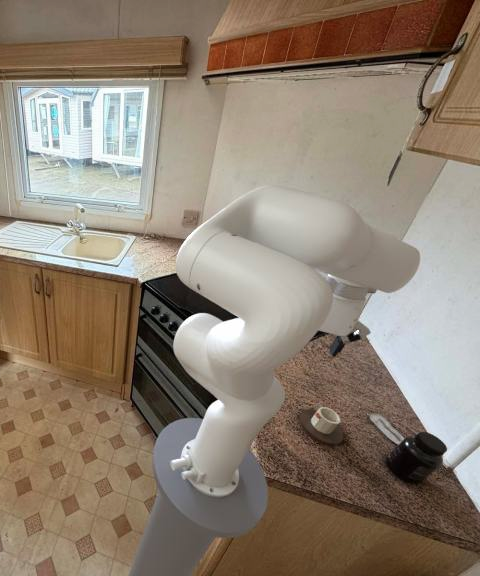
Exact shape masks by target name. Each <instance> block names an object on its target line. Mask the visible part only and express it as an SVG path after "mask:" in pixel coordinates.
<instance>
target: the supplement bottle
mask: <svg viewBox="0 0 480 576" xmlns="http://www.w3.org/2000/svg"><path fill="white" fill-rule="evenodd" d="M404 438H405V439H403V440H402V441H401V442H400V443H399V444H397V445H396V446H395V447H394V448H393V449H392V450H391V451H390V452H389V453H388V454H387V455H386V456H385V459H384V461H385V466H386V467H387V469H388V470H389V472H390V473H391V474H392V475H394V476H395V477H396V478H397V479H399V480H401V481H402V482H404V483H406V484H410V485H419V484H420V483H421V484H422V482H423V481H424V480H426V479H427V478H428V477H429V476H431V474H432V473H434V472H435V471H436V470H437V469H439V468H440V467H441V466H442V465H443V463H444V458H443V456H444V454H445V453H447V451H448V447H447V445H446V444H445V442H444V441H443V440H442V439H440V437H438V436H436V435H434V434H432V433H430V432H426V431H420V432H418V433H417V434H416V435H414V436H407V437H404Z"/></svg>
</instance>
